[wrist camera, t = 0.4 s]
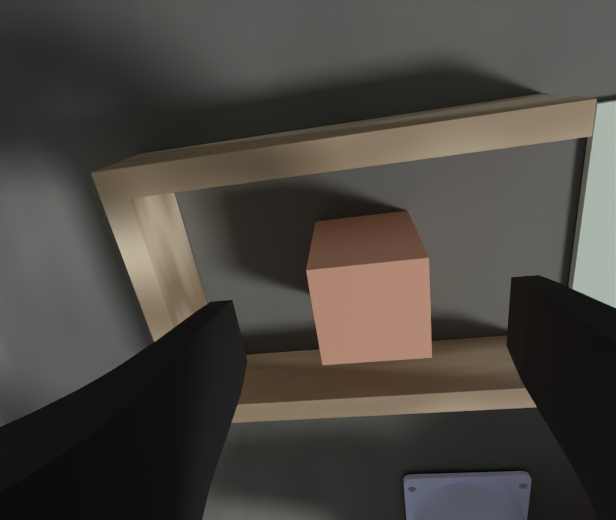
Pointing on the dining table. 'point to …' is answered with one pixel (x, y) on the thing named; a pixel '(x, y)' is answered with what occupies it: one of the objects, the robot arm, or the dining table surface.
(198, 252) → the dining table surface
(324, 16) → the dining table surface
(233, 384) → the robot arm
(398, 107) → the dining table surface
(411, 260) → the block
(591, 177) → the mat
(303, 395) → the crate
